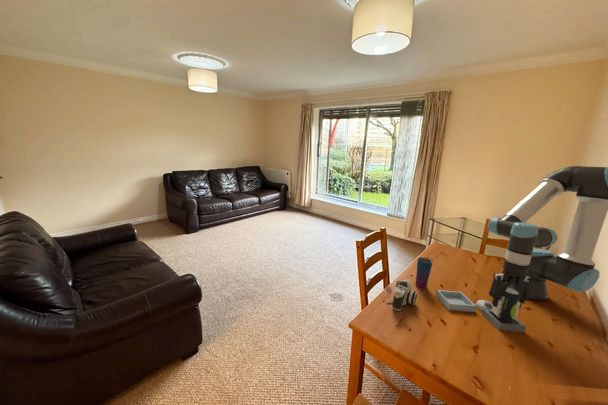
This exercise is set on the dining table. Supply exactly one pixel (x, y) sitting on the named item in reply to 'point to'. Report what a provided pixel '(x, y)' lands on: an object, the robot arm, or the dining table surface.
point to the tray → (455, 301)
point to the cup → (423, 272)
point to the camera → (403, 295)
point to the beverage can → (508, 306)
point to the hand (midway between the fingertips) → (504, 314)
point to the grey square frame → (488, 314)
